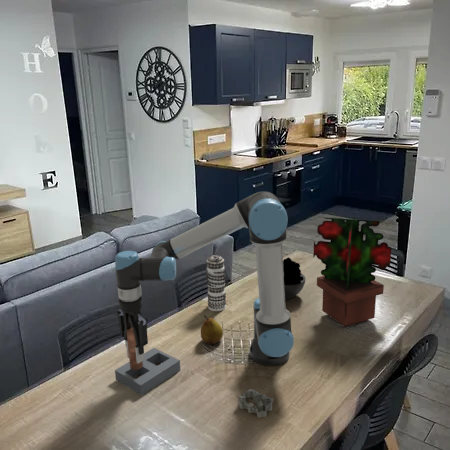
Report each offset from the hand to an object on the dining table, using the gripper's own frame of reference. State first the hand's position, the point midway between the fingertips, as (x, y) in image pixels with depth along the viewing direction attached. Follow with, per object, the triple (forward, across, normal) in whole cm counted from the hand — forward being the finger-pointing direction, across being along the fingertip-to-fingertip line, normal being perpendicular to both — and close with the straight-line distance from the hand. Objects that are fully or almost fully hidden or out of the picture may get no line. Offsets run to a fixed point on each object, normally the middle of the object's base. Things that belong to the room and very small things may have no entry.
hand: (135, 358), depth 157 cm
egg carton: (+9, +40, +15) cm, 44 cm away
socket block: (+9, 0, +5) cm, 10 cm away
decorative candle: (+9, -15, +60) cm, 62 cm away
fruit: (+9, +3, +36) cm, 37 cm away
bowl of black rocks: (+9, +4, +88) cm, 88 cm away
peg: (+3, 0, 0) cm, 3 cm away
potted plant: (+9, +38, +86) cm, 94 cm away
